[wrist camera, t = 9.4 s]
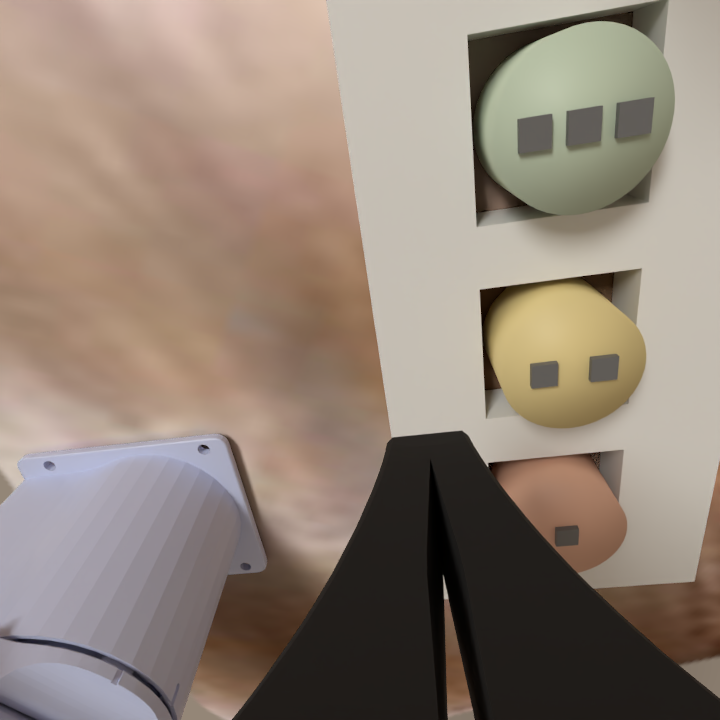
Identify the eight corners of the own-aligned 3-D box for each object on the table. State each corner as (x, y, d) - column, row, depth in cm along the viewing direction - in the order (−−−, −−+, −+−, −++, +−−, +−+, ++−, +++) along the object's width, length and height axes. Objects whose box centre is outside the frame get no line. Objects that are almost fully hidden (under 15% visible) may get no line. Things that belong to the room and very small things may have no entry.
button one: (491, 520, 23) (508, 583, 20) (487, 441, 21) (505, 498, 18) (591, 511, 22) (624, 575, 19) (597, 430, 21) (635, 486, 18)
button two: (485, 387, 20) (504, 438, 17) (480, 280, 18) (500, 316, 15) (601, 374, 19) (642, 424, 16) (608, 263, 17) (656, 296, 14)
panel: (413, 565, 25) (416, 601, 23) (325, -39, 14) (317, -59, 12) (670, 545, 24) (694, 581, 22) (784, -131, 13) (848, -168, 11)
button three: (476, 205, 17) (497, 227, 14) (469, 51, 15) (491, 38, 12) (614, 185, 16) (667, 203, 13) (625, 24, 14) (691, 3, 11)
